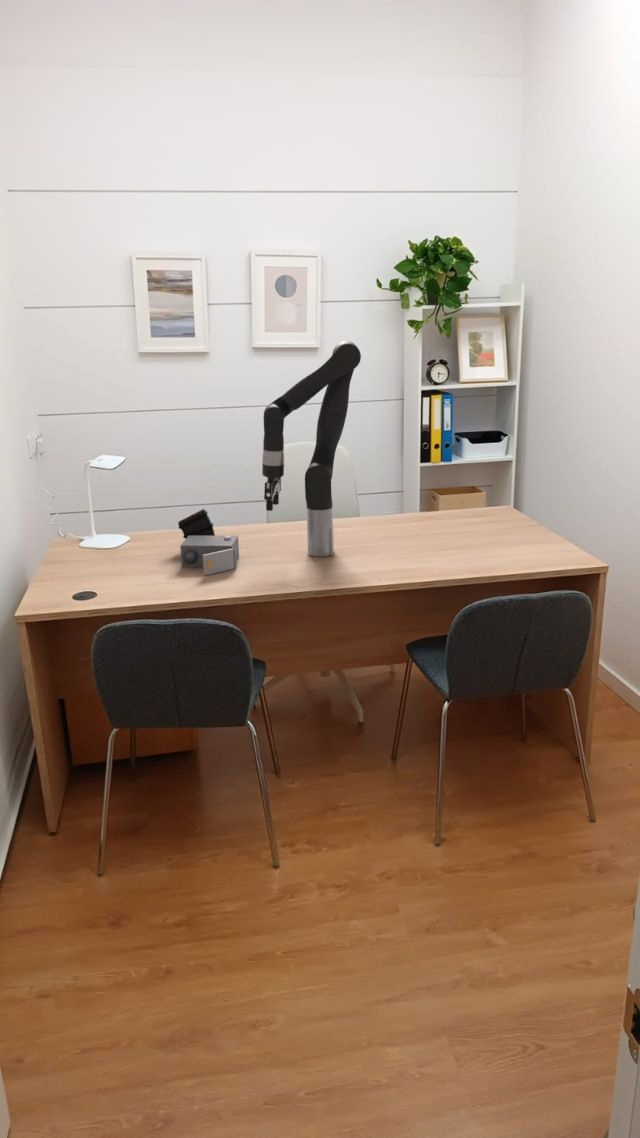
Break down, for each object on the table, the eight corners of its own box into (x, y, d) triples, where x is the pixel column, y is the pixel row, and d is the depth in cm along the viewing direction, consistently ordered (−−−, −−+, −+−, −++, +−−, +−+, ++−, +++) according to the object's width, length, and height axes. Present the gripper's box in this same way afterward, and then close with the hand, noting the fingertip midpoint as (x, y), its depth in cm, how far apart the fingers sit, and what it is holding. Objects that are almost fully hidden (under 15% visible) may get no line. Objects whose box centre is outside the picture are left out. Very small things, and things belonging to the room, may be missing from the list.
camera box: (239, 556, 308) (237, 533, 305) (232, 569, 295) (230, 544, 292) (190, 556, 309) (188, 533, 306) (180, 568, 297) (179, 544, 294)
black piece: (224, 545, 316) (204, 510, 311) (193, 561, 317) (172, 526, 312) (224, 542, 319) (205, 507, 315) (193, 558, 321) (173, 524, 316)
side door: (235, 567, 296) (234, 547, 294) (237, 568, 295) (236, 549, 292) (204, 574, 290) (202, 554, 287) (206, 575, 288) (204, 555, 286)
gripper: (278, 467, 290) (278, 513, 295) (288, 459, 303) (287, 503, 309) (257, 465, 291) (257, 511, 297) (267, 457, 304) (267, 501, 310)
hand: (272, 507), depth 303 cm, fingers open, 8 cm apart
